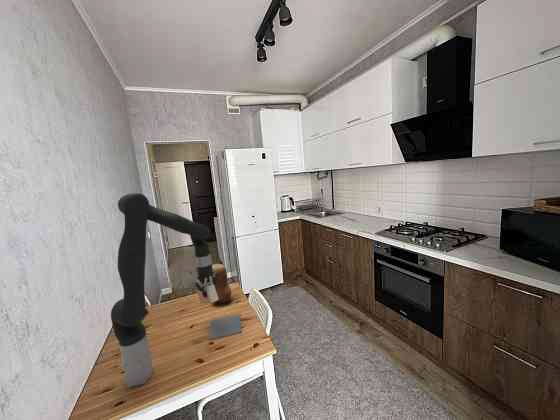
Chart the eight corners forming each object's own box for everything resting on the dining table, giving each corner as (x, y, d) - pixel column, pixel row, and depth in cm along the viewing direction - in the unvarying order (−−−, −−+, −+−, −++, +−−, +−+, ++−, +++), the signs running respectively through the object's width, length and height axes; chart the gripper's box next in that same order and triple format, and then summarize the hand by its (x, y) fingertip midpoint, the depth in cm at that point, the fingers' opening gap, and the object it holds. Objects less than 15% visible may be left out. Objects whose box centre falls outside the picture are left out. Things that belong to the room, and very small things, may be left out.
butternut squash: (232, 295, 153) (228, 260, 150) (231, 305, 140) (226, 267, 137) (211, 298, 151) (206, 263, 148) (208, 309, 138) (203, 270, 135)
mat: (241, 332, 114) (241, 331, 114) (208, 340, 111) (208, 339, 111) (240, 315, 130) (239, 314, 129) (211, 321, 126) (211, 320, 126)
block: (201, 286, 124) (213, 284, 114) (205, 301, 123) (218, 299, 114) (196, 289, 121) (208, 286, 112) (200, 303, 121) (213, 302, 111)
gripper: (195, 270, 107) (200, 304, 109) (220, 260, 117) (224, 291, 120) (187, 267, 112) (192, 299, 114) (212, 258, 122) (216, 288, 125)
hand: (208, 295), depth 117 cm, fingers closed on block, 3 cm apart
